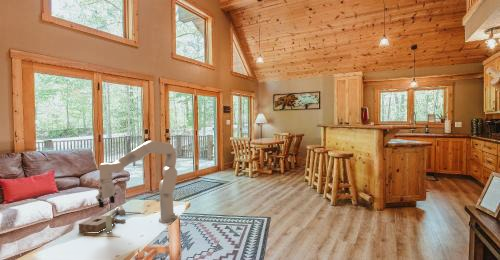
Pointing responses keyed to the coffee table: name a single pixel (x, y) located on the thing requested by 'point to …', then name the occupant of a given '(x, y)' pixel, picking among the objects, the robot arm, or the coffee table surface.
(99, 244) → the coffee table surface
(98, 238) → the coffee table surface
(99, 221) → the socket block
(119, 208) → the faucet
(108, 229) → the peg
